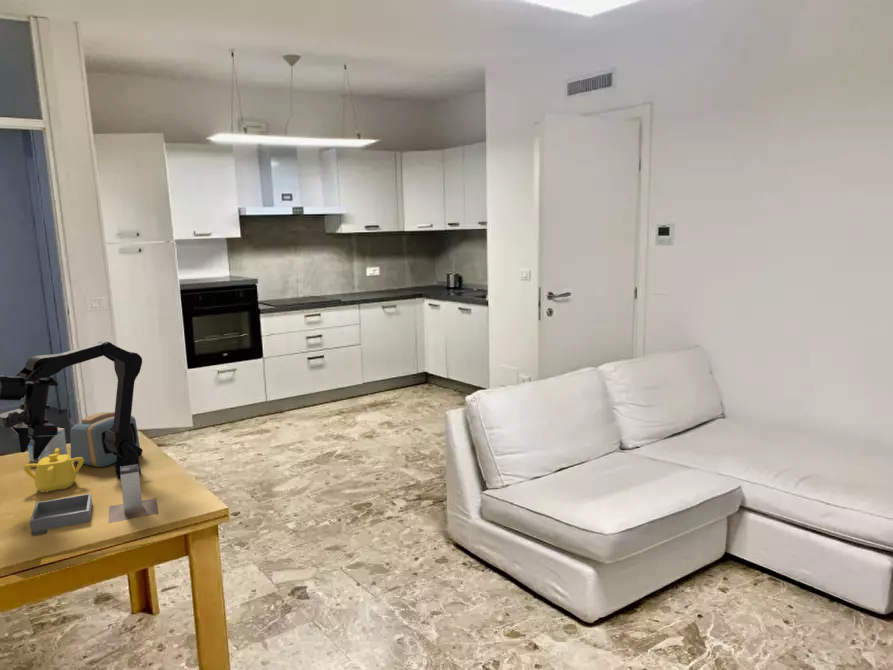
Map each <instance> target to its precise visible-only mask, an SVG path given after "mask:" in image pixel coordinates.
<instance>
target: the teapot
mask: <svg viewBox="0 0 893 670" xmlns="http://www.w3.org/2000/svg"><path fill="white" fill-rule="evenodd" d="M74 461H78V463H77V466H76V467H75V464H74ZM83 463H84V458H82V457H77V458H73V459H71V456H70V455H69V454H68V453H67V454H65V455H60V450H59V448H56V449H55V454H51V455H49V456H48V457H44V458H42V459H41V460H40V461H39V462H37V463H27V464H24V466H22V467H23V471H24V472H25V473H26V474H27V476H29V477H30V478H32V479H33V480H34V486H35V488H36V490H37V491H38V492H40V493H48V492H47V491H49V492H50V491H59V490H62V489H63V490H67V489H66V488H68V487H69V488H70V487H72V486H73V484H74V483H75V481H76V478H77V473H78V471H79V470H80V469H81V468H82V466H83V465H84V464H83ZM34 467H36V468H35V474H34V473H33V472H32V470H31V468H34ZM69 488H68V489H69Z"/></svg>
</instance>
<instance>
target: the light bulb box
mask: <svg viewBox="0 0 893 670" xmlns="http://www.w3.org/2000/svg"><path fill="white" fill-rule="evenodd" d="M57 428H58V432H57V435H54V438H52V439H51V441H50V442H49V443H48V445H47V446H46V447H45V449H44V450H43V452H42V453H41V455H40V456H39V458H38V459H33V441H32V439H31V440H30V442H29V445H28V447H27V449H28V458H29V459H28V460H29V461H31V462H35V463H38V462H39V461H40V460H41V459H42V458H44V457H48V456H49V455H51V454H55V449H56V448H59V450H60V455H65V454H67V455H68V451H67V441H66V440H67V439H66V432H65V428H61V427H57Z"/></svg>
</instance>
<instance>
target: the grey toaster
mask: <svg viewBox="0 0 893 670" xmlns="http://www.w3.org/2000/svg"><path fill="white" fill-rule="evenodd" d="M114 415H115V411H105V412H104V411H103V412H97V413H93V414H91V415H88V416H87V417H84V418H82V419H81V422H79V423H77V424H74V425H73V426H72V427H71V429H70V431H69V434H70V435H69V436H70V437H69V438H70V439H69V441H70V459H73V458H77V457H82V458H84V463H83V465H87V466H91V467H92V466H93V467H97V468H105V467H108V466H110V465H113V464H114V465H115V461H117V456H116V455H114V454H113V453H112V451H110V450H108V449H107V447H106V443H104V440H105V431H106V430H110V429H111V428H112V426H113V424H114ZM130 426H131V429H132V432H133V435H134V444H135V445H136V446H138V447H139V448H141V447H140V446H141V445H140V439H139V433H138V428H137V427H138V426H137V422H136V418H135V417H134V416H133V415H131V422H130ZM73 463H77V464H78V461H73Z"/></svg>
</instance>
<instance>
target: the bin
mask: <svg viewBox="0 0 893 670" xmlns="http://www.w3.org/2000/svg"><path fill="white" fill-rule="evenodd" d="M92 498H93V497H92V493H91V492H90V493H84V494H79V495H72V496H68V497H67V496H66V497H60V498H55V499H51V500H50V499H49V500H43V501H37V502H36V503H35V505H34V508H33V510H32V512H31V513H32V514H31V516H30V519H29V527H30V533H31V536H32V537H34V536H37V535H38V536H39V535H44V534H47V533H48V530H52V529H53V530H54V529H57V528H63V527H64V528H65V527H68V526H74V525H79V524H83V523H89V522H90V521H91V518H92V517H91V516H92V508H93V499H92Z"/></svg>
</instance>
